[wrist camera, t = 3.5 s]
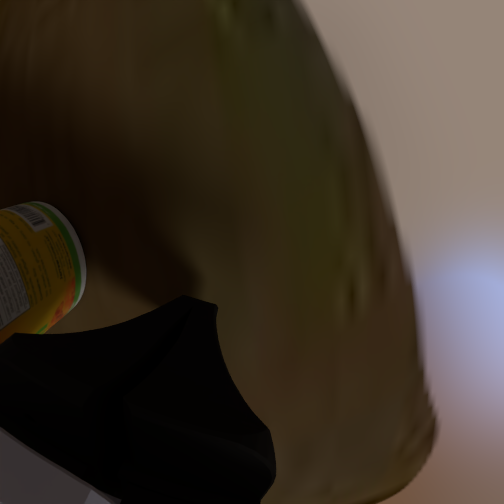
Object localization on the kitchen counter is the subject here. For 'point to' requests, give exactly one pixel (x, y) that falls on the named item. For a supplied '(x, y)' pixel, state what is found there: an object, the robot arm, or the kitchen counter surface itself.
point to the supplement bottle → (37, 268)
